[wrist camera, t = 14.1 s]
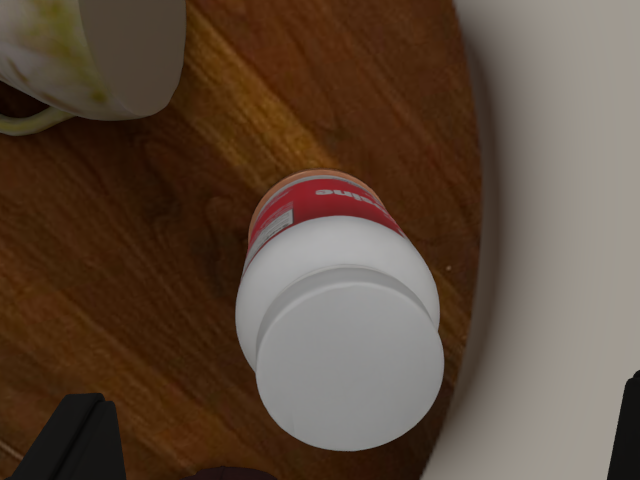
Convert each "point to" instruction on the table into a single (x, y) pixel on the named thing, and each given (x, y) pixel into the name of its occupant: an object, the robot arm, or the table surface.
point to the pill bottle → (338, 317)
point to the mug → (91, 58)
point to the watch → (230, 474)
